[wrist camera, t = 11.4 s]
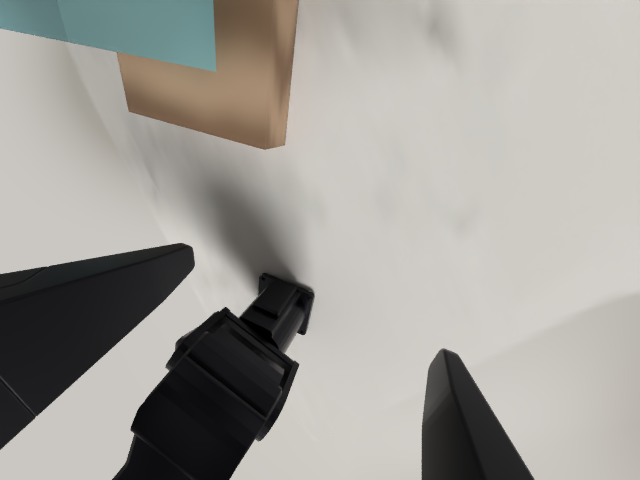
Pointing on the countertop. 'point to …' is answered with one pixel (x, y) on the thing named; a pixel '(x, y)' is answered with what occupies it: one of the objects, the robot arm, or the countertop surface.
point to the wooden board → (225, 77)
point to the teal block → (122, 26)
